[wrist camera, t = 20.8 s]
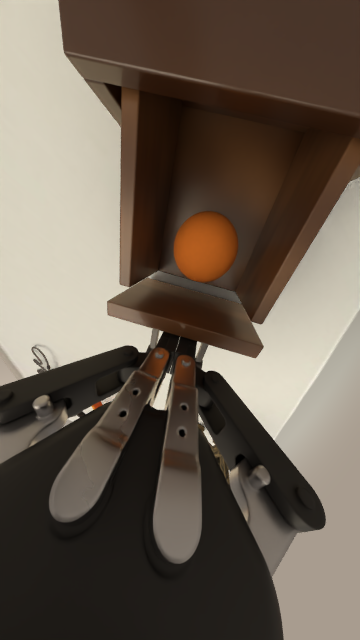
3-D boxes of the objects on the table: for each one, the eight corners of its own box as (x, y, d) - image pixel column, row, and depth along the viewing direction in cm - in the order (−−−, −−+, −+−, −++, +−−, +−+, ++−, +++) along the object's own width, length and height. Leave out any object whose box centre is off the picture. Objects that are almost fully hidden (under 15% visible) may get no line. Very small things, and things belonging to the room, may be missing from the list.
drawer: (220, 348, 20) (225, 402, 14) (142, 325, 21) (109, 366, 14) (325, 132, 10) (569, -97, 3) (166, 97, 11) (88, -167, 4)
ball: (175, 268, 15) (160, 279, 11) (186, 210, 13) (173, 194, 8) (221, 281, 15) (225, 297, 11) (243, 224, 12) (259, 215, 8)
